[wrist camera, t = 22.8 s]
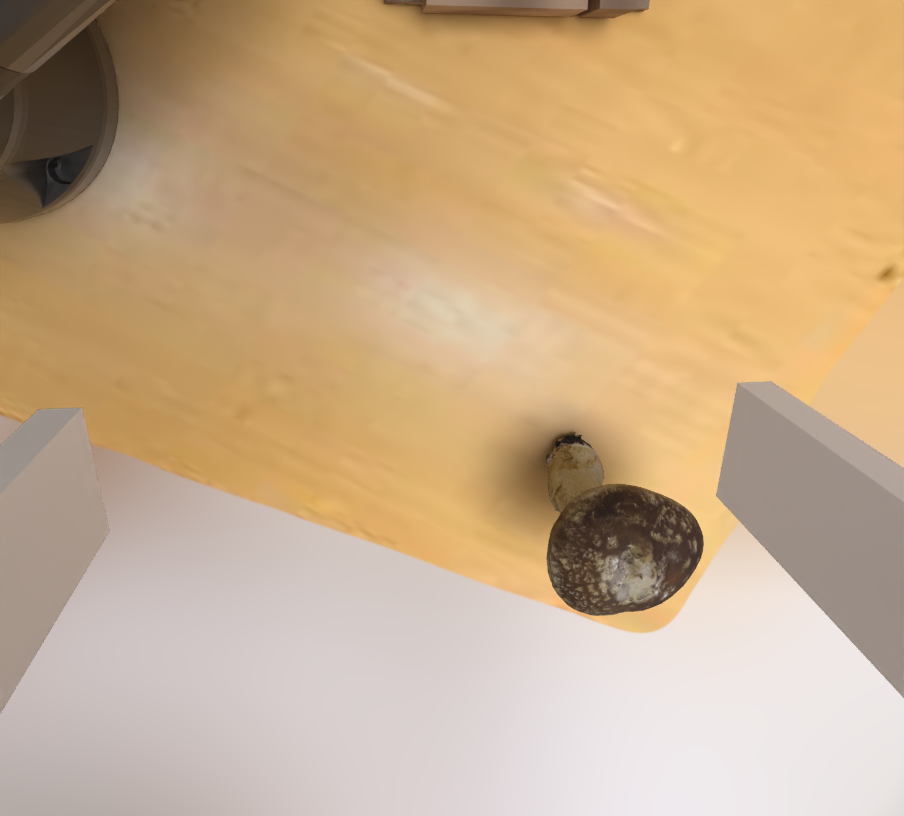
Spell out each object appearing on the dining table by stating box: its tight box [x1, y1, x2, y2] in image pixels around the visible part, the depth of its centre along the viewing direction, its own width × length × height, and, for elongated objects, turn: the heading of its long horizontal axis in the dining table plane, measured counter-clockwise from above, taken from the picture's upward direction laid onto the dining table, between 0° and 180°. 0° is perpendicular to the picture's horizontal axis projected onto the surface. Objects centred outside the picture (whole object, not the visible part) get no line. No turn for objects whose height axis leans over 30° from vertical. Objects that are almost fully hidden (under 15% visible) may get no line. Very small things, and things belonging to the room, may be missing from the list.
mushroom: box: [546, 432, 704, 616], centre depth 44 cm, size 9×9×15 cm
